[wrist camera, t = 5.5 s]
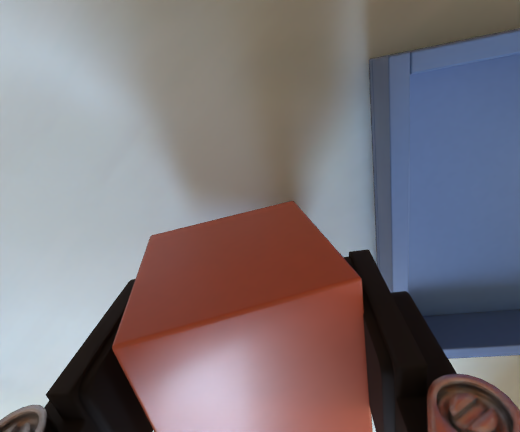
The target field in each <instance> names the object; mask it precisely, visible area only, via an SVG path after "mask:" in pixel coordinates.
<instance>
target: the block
mask: <svg viewBox="0 0 520 432" xmlns="http://www.w3.org/2000/svg"><path fill="white" fill-rule="evenodd" d="M363 314H364V305H363V291H362V279H361V277H360V276H359V275H358V274H357V273H356V271H355V270H354V269H353V268H352V267H351V266H350V265H349V263H348V262H347V261H346V260H345V259H344V258H343V257H342V256H341V254H340V253H339V252H338V251H337V250H336V249H335V248H334V246H333V245H332V244H331V243H330V242H329V241H328V240H327V238H326V237H325V236H324V235H323V234H322V233H321V232H320V231H319V229H318V228H317V227H316V226H315V225H314V224H313V223H312V221H311V220H310V219H309V218H308V217H307V216H306V215H305V213H304V212H303V211H302V210H301V209H300V208H299V207H298V205H297V204H296V203H295V202H294V201H289V202H285V203H281V204H277V205H273V206H269V207H265V208H261V209H257V210H253V211H249V212H245V213H241V214H237V215H233V216H228V217H224V218H220V219H216V220H212V221H208V222H204V223H200V224H196V225H192V226H188V227H184V228H180V229H176V230H172V231H168V232H164V233H160V234H156V235H152V236H151V237H150V239H149V242H148V245H147V248H146V251H145V254H144V256H143V259H142V262H141V265H140V268H139V271H138V274H137V277H136V279H135V282H134V285H133V288H132V291H131V294H130V297H129V299H128V302H127V305H126V308H125V311H124V314H123V317H122V319H121V322H120V325H119V328H118V331H117V334H116V337H115V340H114V342H113V345H112V349H113V352H114V354H115V356H116V358H117V360H118V362H119V363H120V365H121V367H122V369H123V371H124V373H125V375H126V377H127V379H128V381H129V383H130V385H131V387H132V389H133V391H134V393H135V395H136V397H137V399H138V401H139V402H140V404H141V406H142V408H143V410H144V412H145V414H146V416H147V418H148V420H149V422H150V424H151V426H152V428H153V430H154V432H372V418H371V410H370V405H369V391H368V376H367V362H366V348H365V334H364V320H363Z"/></svg>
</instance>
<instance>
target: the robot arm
mask: <svg viewBox="0 0 520 432" xmlns="http://www.w3.org/2000/svg"><path fill="white" fill-rule="evenodd" d="M344 259H345V260H346V261H347V262H348V263H349V265H350V266H351V267H352V268H353V269H354V270H355V271H356V273H357V274H358V275H359V276H360V277H361V279H362V291H363V305H364V314H363V320H364V334H365V348H366V362H367V376H368V391H369V405H370V410H371V413H372V417H373V421H374V425H375V428H376V432H520V411H519V409H518V408H517V406H516V405H515V404H514V403H513V402H512V401H511V399H510V398H509V397H508V396H507V395H506V394H504V393H503V392H502V391H500V390H499V389H498V388H497V387H495V386H494V385H492V384H490V383H488V382H486V381H484V380H482V379H479V378H476V377H473V376H469V375H464V374H457V373H456V372H455V370H454V368H453V367H452V365H451V363H450V362H449V360H448V358H447V356H446V355H445V353H444V351H443V350H442V348H441V346H440V345H439V343H438V341H437V340H436V338H435V336H434V335H433V333H432V331H431V329H430V328H429V326H428V324H427V323H426V321H425V319H424V318H423V316H422V314H421V313H420V311H419V309H418V308H417V306H416V304H415V302H414V301H413V299H412V297H411V296H410V294H409V293H408V292H406V291H401V292H392V293H391V292H390V290H389V288H388V286H387V284H386V282H385V280H384V278H383V277H382V275H381V273H380V271H379V269H378V267H377V265H376V263H375V261H374V259H373V257H372V255H371V253H370V251H369V250H361V251H353V252H349V257H344ZM134 282H135V279H134V280H130V281H129V282H128V284H127V285H126V286H125V288H124V289H123V291H122V292H121V293H120V295H119V296H118V297H117V299H116V300H115V301H114V303H113V304H112V305H111V307H110V308H109V310H108V311H107V312H106V314H105V315H104V316H103V318H102V319H101V320H100V322H99V323H98V324H97V326H96V327H95V329H94V330H93V331H92V333H91V334H90V335H89V337H88V338H87V339H86V341H85V342H84V343H83V345H82V346H81V348H80V349H79V350H78V352H77V353H76V354H75V356H74V357H73V358H72V360H71V361H70V363H69V364H68V365H67V367H66V368H65V369H64V371H63V372H62V373H61V375H60V376H59V377H58V379H57V380H56V382H55V383H54V384H53V386H52V387H51V388H50V390H49V391H48V392H47V394H46V396H47V397H48V399H49V402H48V403H47V405H46V406H45V407H44V408H43V407H42V406H40V405H30V406H26V407H22V408H20V409H18V410H16V411H14V412H12V413H10V414H9V415H7V416H6V417H4V418H3V419H1V420H0V432H152V431H153V428H152V426H151V424H150V422H149V420H148V418H147V416H146V414H145V412H144V410H143V408H142V406H141V404H140V402H139V401H138V399H137V397H136V395H135V393H134V391H133V389H132V387H131V385H130V383H129V381H128V379H127V377H126V375H125V373H124V371H123V369H122V367H121V365H120V363H119V362H118V360H117V358H116V356H115V354H114V352H113V349H112V345H113V342H114V340H115V337H116V334H117V331H118V328H119V325H120V322H121V319H122V317H123V314H124V311H125V308H126V305H127V302H128V299H129V297H130V294H131V291H132V288H133V285H134Z"/></svg>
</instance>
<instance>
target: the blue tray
mask: <svg viewBox="0 0 520 432" xmlns="http://www.w3.org/2000/svg"><path fill="white" fill-rule="evenodd" d="M369 69H370V94H371V119H372V144H373V168H374V193H375V218H376V242H377V267H378V269H379V271H380V273H381V275H382V277H383V278H384V280H385V282H386V284H387V286H388V288H389V290H390V292H391V293H392V292H401V291H406V292H408V293H409V294H410V296H411V297H412V299H413V301H414V302H415V304H416V306H417V308H418V309H419V311H420V313H421V314H422V316H423V318H424V319H425V321H426V323H427V324H428V326H429V328H430V329H431V331H432V333H433V335H434V336H435V338H436V340H437V341H438V343H439V345H440V346H441V348H442V350H443V351H444V353H445V355H446V356H447V358H448V359H450V358H470V357H491V356H511V355H520V28H518V29H514V30H509V31H504V32H499V33H494V34H489V35H485V36H480V37H475V38H470V39H465V40H460V41H455V42H451V43H446V44H441V45H436V46H431V47H426V48H421V49H417V50H412V51H407V52H402V53H397V54H392V55H387V56H383V57H378V58H373V59H370V60H369Z"/></svg>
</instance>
